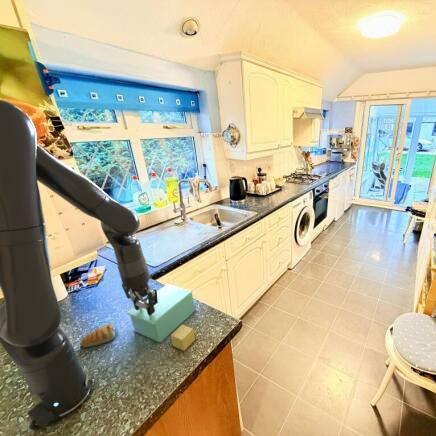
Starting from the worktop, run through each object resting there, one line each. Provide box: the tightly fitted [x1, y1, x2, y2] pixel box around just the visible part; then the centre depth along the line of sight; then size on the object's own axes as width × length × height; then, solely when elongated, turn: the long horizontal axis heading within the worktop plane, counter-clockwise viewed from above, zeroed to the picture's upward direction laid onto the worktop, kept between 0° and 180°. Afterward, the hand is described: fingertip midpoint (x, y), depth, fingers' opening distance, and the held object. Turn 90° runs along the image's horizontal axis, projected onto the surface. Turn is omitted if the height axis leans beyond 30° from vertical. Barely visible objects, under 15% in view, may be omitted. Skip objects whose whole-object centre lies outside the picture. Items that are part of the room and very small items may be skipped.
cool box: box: [129, 292, 196, 343], centre depth 89 cm, size 17×13×9 cm
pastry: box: [80, 323, 116, 348], centre depth 82 cm, size 9×7×4 cm
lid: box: [126, 283, 193, 325], centre depth 86 cm, size 17×13×5 cm
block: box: [170, 324, 196, 352], centre depth 81 cm, size 5×5×5 cm
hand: (145, 310), depth 81 cm, fingers closed on lid, 5 cm apart
